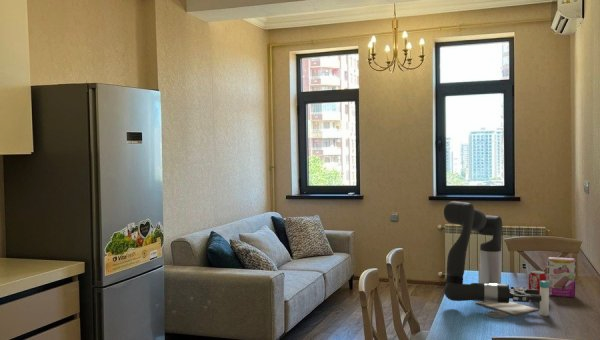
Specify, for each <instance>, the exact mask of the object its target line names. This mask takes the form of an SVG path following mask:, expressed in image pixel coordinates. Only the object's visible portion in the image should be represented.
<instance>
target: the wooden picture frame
mask: <svg viewBox="0 0 600 340" xmlns="http://www.w3.org/2000/svg"><path fill="white" fill-rule="evenodd" d="M475 305H478V306H482V307H485V308H488V309H491V310H493V311H501V312H505V313H507V314H508V315H511V316H515V317H516V316H520V315H524V314H528V313H533V312H537V311H540V308H536V307H532V306H530V305H525V304H523V303H522V304H521V303H520V302H514V301H513V300H509V303H494V302H486V301H476V302H475Z"/></svg>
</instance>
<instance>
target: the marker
mask: <svg viewBox="0 0 600 340" xmlns="http://www.w3.org/2000/svg"><path fill="white" fill-rule="evenodd" d="M540 295H541V301H539V315H540V316H543V317H546V316H547V317H548V316H549V314H550V310H549V309H550V308H549V307H550V304H549V303H550V301H549V300H550V296H549V281H540Z"/></svg>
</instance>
